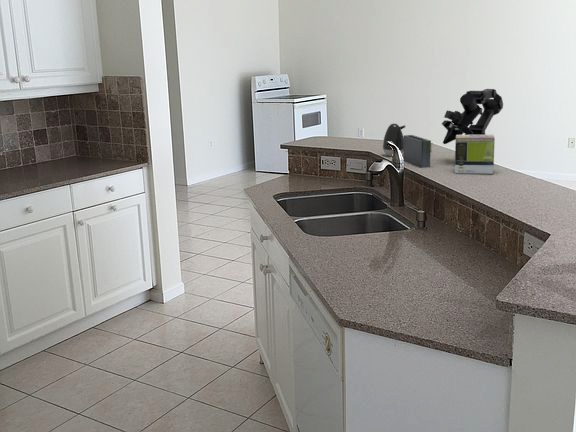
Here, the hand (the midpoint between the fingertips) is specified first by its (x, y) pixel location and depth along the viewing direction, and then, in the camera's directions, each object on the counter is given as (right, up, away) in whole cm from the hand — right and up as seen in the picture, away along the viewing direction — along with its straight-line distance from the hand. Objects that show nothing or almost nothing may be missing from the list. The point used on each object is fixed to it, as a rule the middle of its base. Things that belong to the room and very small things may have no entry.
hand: (443, 143), depth 275 cm
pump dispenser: (-17, -3, +27) cm, 32 cm away
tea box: (+8, -14, -16) cm, 23 cm away
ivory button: (-9, -4, -3) cm, 10 cm away
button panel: (-11, -8, +5) cm, 14 cm away
